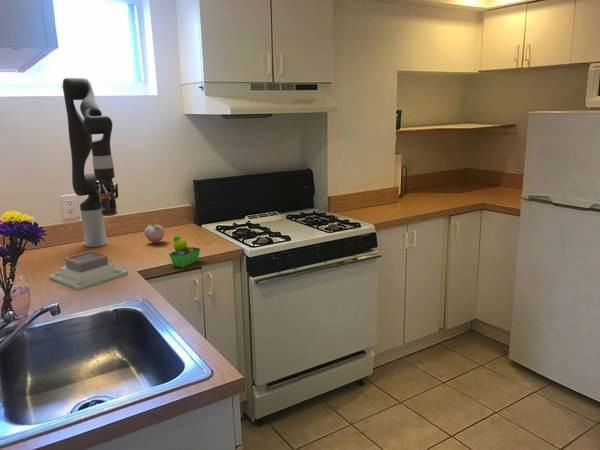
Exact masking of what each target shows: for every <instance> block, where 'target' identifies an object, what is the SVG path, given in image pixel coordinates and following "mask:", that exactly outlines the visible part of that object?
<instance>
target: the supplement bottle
mask: <svg viewBox="0 0 600 450" xmlns="http://www.w3.org/2000/svg"><path fill="white" fill-rule="evenodd" d="M110 192H111V191H110ZM110 195H111V194H110ZM99 197H100V204H101V211H102V215H103V217H111V216H116V215H117V214H118V209H117V206H116V208H114V209H110V203H109V197H108V195H106V193H105V190H104V188H101V194H100V195H99ZM115 204H116V205H117V201H116V199H115Z"/></svg>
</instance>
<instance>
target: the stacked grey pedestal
mask: <svg viewBox="0 0 600 450" xmlns="http://www.w3.org/2000/svg"><path fill="white" fill-rule="evenodd" d="M108 258H109V257H108V255H107V254H105V253H102V252H99V251H96V250H93V249H91V250H88V251H85V252H81V253H77V254H73V255H70V256H66V257H64V262H65V265H64V266H62V267H60V271H56V272H54V273H52V274H49V275H48V277H49V279H50V280H53V281H55V282H57V283H60V284H62V285H64V286H67V287H69V288H72V289H74V290H77V291H81V290H84V289H87V288H89V287H92V286H96V285H99V284H101V283H105V282H108V281H112V280H114V279H117V278H120V277H123V276H127V275H129V271H128V270H126V269H123V268H119V267H116V266H115V263H113V262H109V259H108Z"/></svg>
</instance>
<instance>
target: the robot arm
mask: <svg viewBox="0 0 600 450" xmlns="http://www.w3.org/2000/svg"><path fill="white" fill-rule="evenodd" d="M92 86H93V85H92V83H91V82H90V80H89V79H88V78H84V77H64V78H63V79H62V92H63V97H64V102H65V109H66V117H67V127H68V139H69V145H70V147H69V148H70V155H71V179H72V180H71V183H72V188H73V191H74V193H75V195H77V196H79V197H81V196H82V197H83V196H87V198H86V199H85V200H84V201H82V202H80V204H79V209H80V215H81V222H82V230H83V237H84V245H85V246H86V247H89V248H94V247H95V248H96V247H102V246H105V245H107V244H108V241H107V236H106V235H107V234H106V227H105V226H106V225H105V220H104V216H103V215H102V211H101V204H100V197H99V195H100V194H101V188H104V190H105V193H106V195H108V197H109V203H110V209H114V208H116V207H117V203H116V204H115V200H116V199H119V187H118V186H119V184H118V183H114V182H113V179H114V178H115V177H116V176H115V168H114V162H113V156H112V150H111V139H112V138H111V137H112V131H113V121H112V119H111V117H109V116H107V115H103V114H102V111H101V109H100V108H99V105H98V104H97V101H96V97H95V92H94V89H93V87H92ZM75 101H81V103H80V106H79V110H80V112H79V111H78V110H77V108H76V105H75ZM80 113H81V114H80ZM81 115H82V116H83V117H82V116H81ZM93 135H102V137H101V138H99V139H96V140H93ZM91 153H92V167H93V173H87V174H86V173H85V166H86V162H87V160H88V158H89V156H90V154H91ZM110 191H111V192H110ZM110 194H111V195H110Z"/></svg>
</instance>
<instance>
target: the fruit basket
mask: <svg viewBox="0 0 600 450" xmlns="http://www.w3.org/2000/svg"><path fill="white" fill-rule="evenodd" d="M172 245H173V249H174V250H175V251H172V252H170V253H168V256H169V257H170V260H171V262H172V265H173V266H176V267H181V268H184V267H187V266H189V265H191V264H194V263H195V262H198V261H199V257H200V253H201V248H200V247H193V246H187V245H188V242H187V240H185V239H184V238H183V237H181V236H180V235H175V236H174V237H173V243H172Z"/></svg>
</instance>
